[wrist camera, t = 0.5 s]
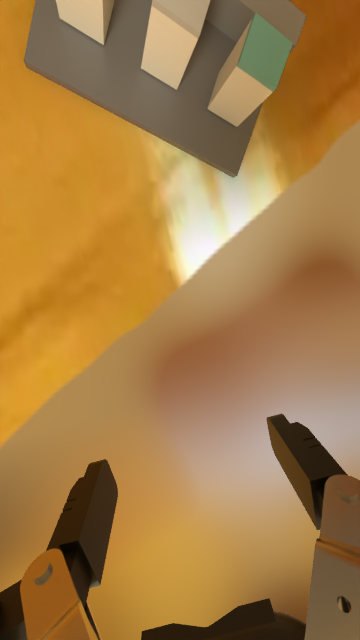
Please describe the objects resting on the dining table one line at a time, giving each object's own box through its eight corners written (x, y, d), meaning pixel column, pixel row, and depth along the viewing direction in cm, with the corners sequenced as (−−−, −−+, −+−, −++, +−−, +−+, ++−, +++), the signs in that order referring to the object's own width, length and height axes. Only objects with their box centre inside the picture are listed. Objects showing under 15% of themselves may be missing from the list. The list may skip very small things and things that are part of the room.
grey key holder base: (27, 67, 26) (9, 27, 21) (64, -119, 23) (52, -210, 19) (233, 177, 35) (252, 166, 30) (278, 50, 32) (306, 16, 27)
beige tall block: (140, 68, 28) (152, -1, 20) (151, 27, 27) (168, -60, 19) (176, 90, 29) (200, 33, 22) (187, 52, 29) (216, -21, 21)
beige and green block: (207, 108, 31) (239, 61, 23) (218, 73, 30) (255, 12, 22) (236, 127, 32) (276, 88, 24) (248, 93, 31) (292, 42, 24)
